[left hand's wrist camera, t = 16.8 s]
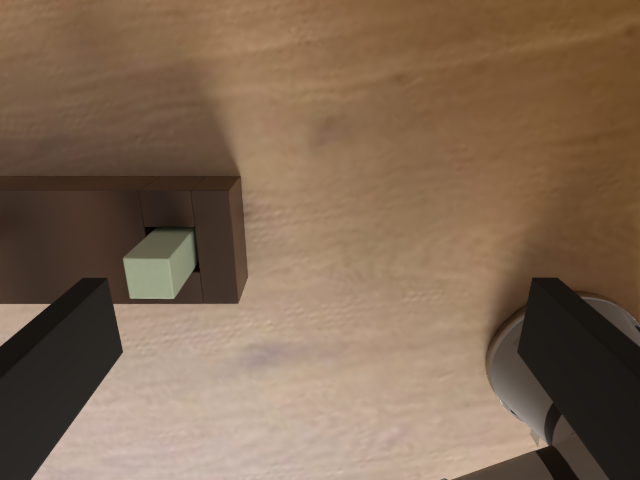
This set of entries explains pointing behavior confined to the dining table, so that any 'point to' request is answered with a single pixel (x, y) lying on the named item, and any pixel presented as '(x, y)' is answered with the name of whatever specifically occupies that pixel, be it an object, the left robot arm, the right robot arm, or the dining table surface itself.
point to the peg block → (116, 234)
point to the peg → (161, 263)
